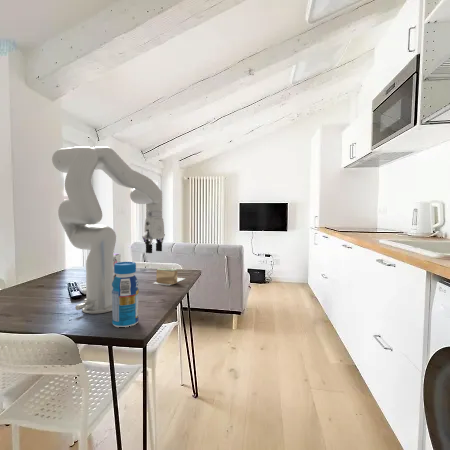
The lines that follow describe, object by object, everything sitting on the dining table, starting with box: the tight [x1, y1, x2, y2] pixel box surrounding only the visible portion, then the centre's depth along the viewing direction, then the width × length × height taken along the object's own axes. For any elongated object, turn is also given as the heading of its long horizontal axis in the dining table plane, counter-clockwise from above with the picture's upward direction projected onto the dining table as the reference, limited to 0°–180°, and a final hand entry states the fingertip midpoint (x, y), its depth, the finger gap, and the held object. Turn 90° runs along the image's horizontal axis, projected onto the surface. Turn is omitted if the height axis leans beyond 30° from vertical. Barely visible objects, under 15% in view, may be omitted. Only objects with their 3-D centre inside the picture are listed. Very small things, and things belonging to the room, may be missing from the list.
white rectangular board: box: [152, 277, 186, 286], centre depth 156 cm, size 16×10×1 cm, turn 158°
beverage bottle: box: [111, 261, 140, 328], centre depth 96 cm, size 8×8×20 cm
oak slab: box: [156, 267, 178, 285], centre depth 151 cm, size 4×10×7 cm, turn 67°
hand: (154, 251), depth 141 cm, fingers open, 7 cm apart
